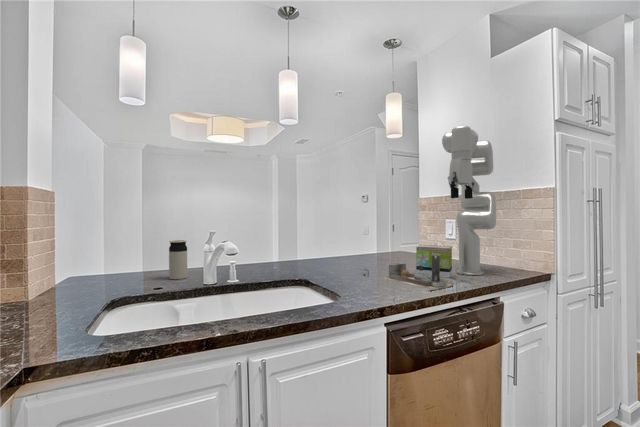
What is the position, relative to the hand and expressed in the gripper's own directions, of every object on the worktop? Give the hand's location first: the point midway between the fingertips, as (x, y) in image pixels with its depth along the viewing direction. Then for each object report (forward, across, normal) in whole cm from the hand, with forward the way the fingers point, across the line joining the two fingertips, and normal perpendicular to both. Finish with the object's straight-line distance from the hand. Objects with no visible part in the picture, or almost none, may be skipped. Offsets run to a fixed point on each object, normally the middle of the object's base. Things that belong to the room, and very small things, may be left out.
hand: (461, 198), depth 132 cm
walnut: (+35, +12, -20) cm, 42 cm away
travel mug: (+36, +94, -88) cm, 134 cm away
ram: (+35, +12, -7) cm, 37 cm away
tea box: (+37, -7, -19) cm, 42 cm away
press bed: (+36, +12, -14) cm, 41 cm away
